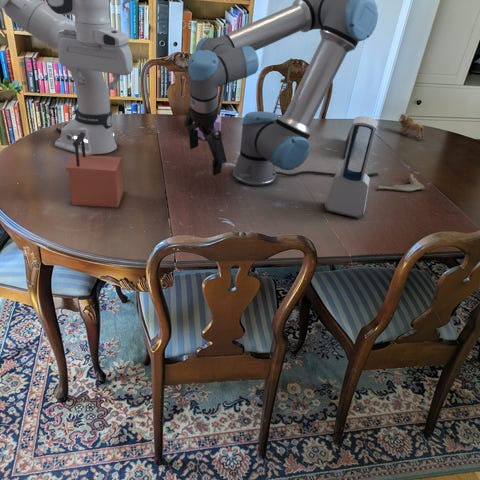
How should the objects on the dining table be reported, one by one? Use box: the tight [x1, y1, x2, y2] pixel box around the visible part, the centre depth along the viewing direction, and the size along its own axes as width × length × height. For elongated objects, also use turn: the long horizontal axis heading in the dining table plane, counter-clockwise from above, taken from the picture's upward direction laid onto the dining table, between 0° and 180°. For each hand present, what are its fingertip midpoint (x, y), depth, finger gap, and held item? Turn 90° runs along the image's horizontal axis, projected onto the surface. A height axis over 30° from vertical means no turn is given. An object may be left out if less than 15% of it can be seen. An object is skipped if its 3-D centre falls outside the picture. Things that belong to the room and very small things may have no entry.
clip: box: [193, 114, 222, 141], centre depth 199 cm, size 20×12×7 cm, turn 23°
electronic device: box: [324, 115, 379, 219], centre depth 142 cm, size 12×8×30 cm, turn 71°
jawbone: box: [376, 173, 426, 193], centre depth 169 cm, size 9×20×2 cm, turn 126°
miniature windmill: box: [272, 57, 293, 117], centre depth 207 cm, size 9×8×30 cm
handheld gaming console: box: [342, 123, 360, 159], centre depth 194 cm, size 23×3×10 cm, turn 161°
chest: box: [68, 161, 124, 208], centre depth 140 cm, size 13×10×11 cm
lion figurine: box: [398, 113, 425, 141], centre depth 218 cm, size 15×5×9 cm, turn 50°
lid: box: [65, 132, 123, 175], centre depth 135 cm, size 14×10×9 cm
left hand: (97, 86), depth 130 cm, fingers open, 8 cm apart
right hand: (205, 160), depth 147 cm, fingers open, 13 cm apart
